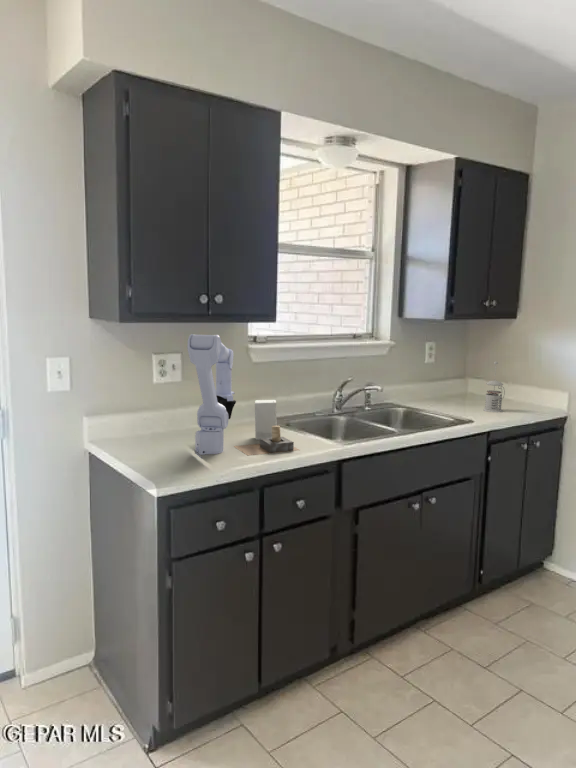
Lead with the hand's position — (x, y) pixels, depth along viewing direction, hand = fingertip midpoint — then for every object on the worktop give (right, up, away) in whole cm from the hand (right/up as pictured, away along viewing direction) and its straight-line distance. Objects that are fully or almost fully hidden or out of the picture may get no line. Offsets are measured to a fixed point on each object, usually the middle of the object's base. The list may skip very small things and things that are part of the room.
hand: (223, 417), depth 219 cm
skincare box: (+15, -10, +8) cm, 20 cm away
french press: (+129, -1, +81) cm, 152 cm away
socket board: (+16, -12, -8) cm, 21 cm away
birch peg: (+20, -11, -8) cm, 24 cm away
